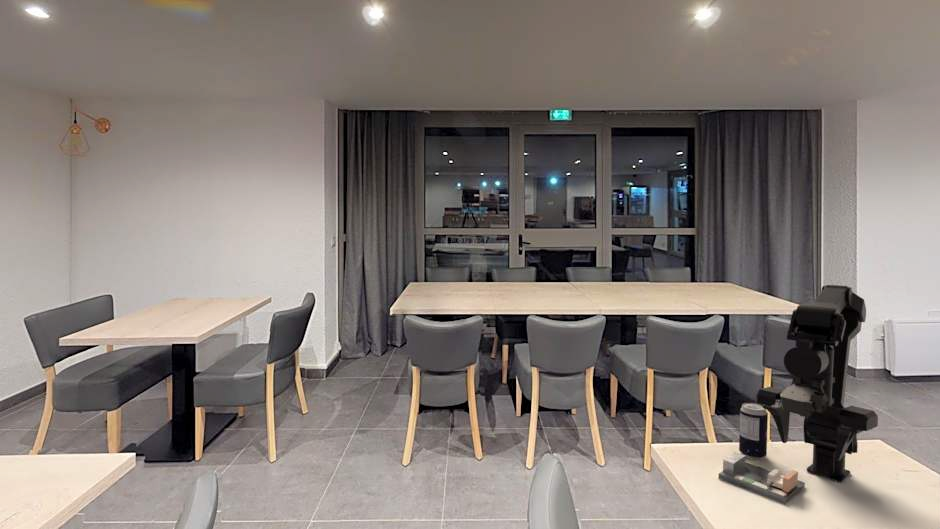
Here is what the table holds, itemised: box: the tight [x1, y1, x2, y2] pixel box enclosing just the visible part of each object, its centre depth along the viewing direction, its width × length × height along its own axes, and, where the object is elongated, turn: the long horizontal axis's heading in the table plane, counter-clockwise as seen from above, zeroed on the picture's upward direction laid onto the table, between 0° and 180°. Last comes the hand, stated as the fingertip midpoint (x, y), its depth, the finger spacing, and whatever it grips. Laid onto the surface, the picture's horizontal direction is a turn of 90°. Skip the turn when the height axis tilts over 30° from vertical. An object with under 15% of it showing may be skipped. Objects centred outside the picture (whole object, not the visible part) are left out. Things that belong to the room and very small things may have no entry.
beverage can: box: [738, 402, 769, 460], centre depth 115 cm, size 6×6×12 cm
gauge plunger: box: [767, 468, 799, 492], centre depth 99 cm, size 7×4×3 cm, turn 127°
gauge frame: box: [718, 451, 806, 505], centre depth 103 cm, size 10×13×4 cm
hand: (810, 450), depth 94 cm, fingers open, 9 cm apart
